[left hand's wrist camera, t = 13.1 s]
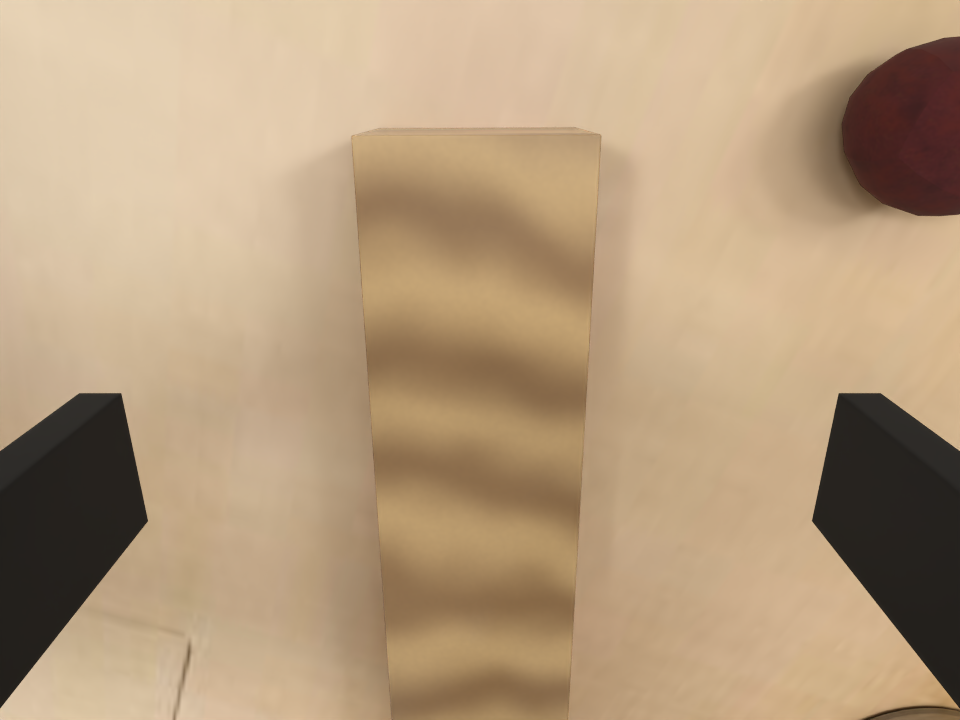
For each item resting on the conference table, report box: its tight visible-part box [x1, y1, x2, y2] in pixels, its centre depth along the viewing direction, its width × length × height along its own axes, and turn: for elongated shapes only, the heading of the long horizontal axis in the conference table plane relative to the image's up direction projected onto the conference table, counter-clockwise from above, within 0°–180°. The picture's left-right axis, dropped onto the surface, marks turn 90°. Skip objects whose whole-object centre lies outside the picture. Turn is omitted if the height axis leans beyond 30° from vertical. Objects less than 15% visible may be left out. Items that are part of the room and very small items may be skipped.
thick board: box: [352, 128, 601, 720], centre depth 42 cm, size 69×10×8 cm, turn 0°
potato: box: [842, 37, 960, 216], centre depth 30 cm, size 7×8×7 cm
